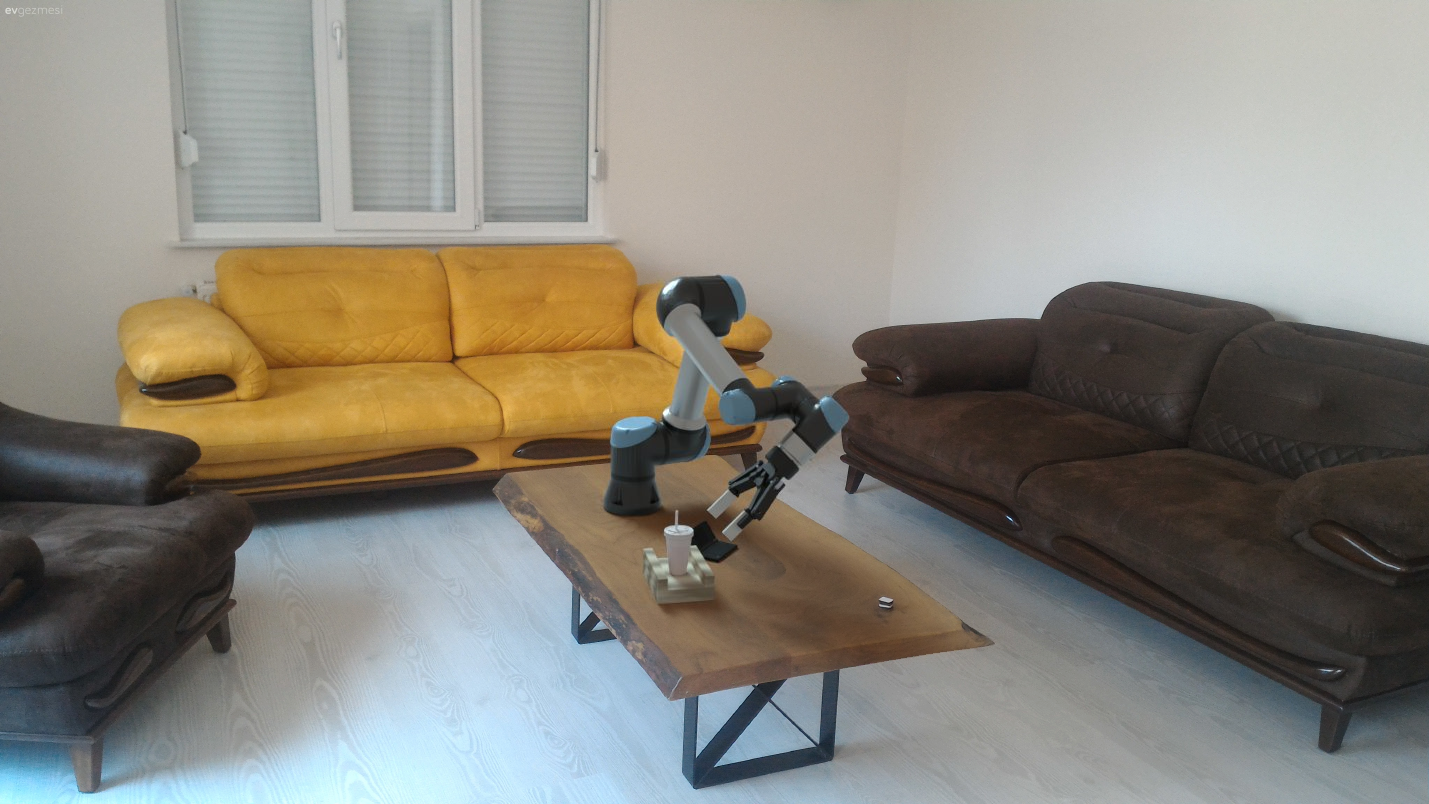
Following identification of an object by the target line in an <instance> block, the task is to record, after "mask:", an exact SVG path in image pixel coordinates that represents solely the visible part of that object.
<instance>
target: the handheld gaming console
mask: <svg viewBox="0 0 1429 804" xmlns="http://www.w3.org/2000/svg"><path fill="white" fill-rule="evenodd" d="M691 528H692V529H693V533H694V535H693V537H692V539H691V546H697V548H698V550H699V551H700V553H701V554H702V556H703V558H704V559H705V561H709V562H712V563H719V562H721V561H722V560H723V559H724V558H726V557H727V556H728V555H730V554H731V553H733V552H734V551H735V550H736V549H738V544H736V543H732V542H727V541H723V540H719V539H718V538H717V536H716V535H715V533H714V531H713V529H712V528H711V526H710V524H709V523H708V521H707V520H706V519H705V520H703V521H701V522H700V523H698V524H696V525H695V526H694V527H691Z"/></svg>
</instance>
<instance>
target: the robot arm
mask: <svg viewBox="0 0 1429 804" xmlns="http://www.w3.org/2000/svg"><path fill="white" fill-rule="evenodd" d="M746 311H747V299H746V293H745V291H744V289H743V287H742V285H741V283H740V281H739V280H738V279H737V278H735V277H734V276H732V275H724V274H723V275H722V274H716V275H700V276H699V275H697V276H696V275H695V276H691V275H690V276H679V277H675V278H673V279H671V280H669V281H668V282H667V283H665V284H664V286H662V288H661V290H660V291H659V293H658V296H657V297H656V302H655V313H656V317H657V319H658V323H659V324H660V326H661V328H662V329H663V330H664V332H665V334H667V335H668V336H669V337H671V338H675V340H677V342H678V343H679V344H680V346H681V347H682V348H683V353H682V357H681V362H680V365H679V370H678V374H677V378H676V383H675V386H674V390H673V394H672V399H671V404H670V405H669V406H667V407H665V408H664V410H663V412H662V416H661V420H658V421H656V419H655V418H653V417H650V416H645V415H643V416H630V417H626V418H623V419H621V420H619V421H617V422H616V423H615V424H614V425H613V426H612V428H611V432H610V433H611V435H610V441H609V444H610V479H609V482H608V485H607V486H606V487H607V488H606V491H605V493H604V496H603V509H605V511H607V512H608V513H611V514H614V515H618V516H625V517H639V516H647V515H651V514H655V513H657V512H659V511H660V510H661V508H662V498H661V493H660V491H659V490H660V489H659V488H658V485H657V481H656V467H660V466H665V465H667V466H668V465H672V464H678V463H689V462H692V461H695V460H700V459H701V458H703V457H704V456H705V455H706V454H707V452H708V451H709V448H710V444H711V441H712V439H711V438H712V437H711V435H710V434H711V428H710V425H709V423H708V422H707V418H706V416H705V415H704V413H703V412H704V409H705V405H706V400H707V397H708V394H709V390H710V386H711V387H712V388H713V390H714V391H715V392H716V394H717V395H718V397H719V401H718V411H719V413H720V418H721V419H722V421H723V422H724V423H725V424H726V425H728V426H747V425H754V424H759V423H764V422H766V423H767V422H772V421H773V422H775V421H780V420H782V421H783V420H790V421H791V422H792V423H793V424H794V426H793V427H792V428H791V429H790V430H789V431H788V432H787V433H786V434H784V436H782V438H780V440H778V445H774V446H773V447H772V448H771V449H770V450H769V451H767V453H766V454H765V455H764V458H765V459H766V460H767V462H764V460H762V459H759V460H758V461H757V462H755V464H754V465H752V466H750V467H749V468H747V469H746V470H745V471H743V472H742V473H740V474H738V475H736V476H735V477H734V478H732V479H731V480H729V481H728V483H727V485H729V486H728V487H727V490H726V491H725V492H724V493H722V495H721V496H720V497H718V499H717V500H715V501H714V502H713V503H712V505H711V506H709V507H708V508H707V511H708V513H709V514H710V515H711V516H713V517H714V519H717V518H718V517H720V515H722V514H723V512H725V510H727V508H729V506H731V505H732V504H733V502H735V500H737V499H739V497H740V496H741V495H742V494H743V493H746V492H747V491H750V490H752V489H753V488H756V491H755V493H754V495H753V497H752V498H751V499H752V500H751V501H750V503H749V504H748V507H746V508H744V509H743V511H741V513H740V514H738V515H737V516H736V518H734V519H733V520H732V521H731V522H730V523H729V524H728V525H727V526H726V527H724V529H723V530H722V534H723V535H724V536H725V537H726V538H727V539H728V540H729V541H730V542H732V541H734V540H735V539H736V538H737V536H738V535H740V533H741V532H742V531H744V529H746V527H747V526H749V524H751V523H752V521H756V520H757V521H758V522H760V521H762V520H763V518H764V517H765V515H766V514H767V512H768V511H769V510H770V508H771V506H772V504H773V503H774V501H775V499H777V497H778V495H779V494H780V492H781V491H782V490H784V489H785V487H786V483H785V482H784V481H783V480H782V479H783V478H785V479H786V480H787V481H791V480H792V478H793V477H794V476H795V475H796V474H797V473H799V471H800V467H804V466H805V465H807V463H808V462H810V461H812V460H813V457H814V456H815V455H816V454H817V453H818V452H819V451H820V450H821V449H822V448H824V446H825V445H826V444H827V443H829V442H830V441H831V440H832V439H833V438H834V437H836V435H838V434H839V433H840V431H841V430H842V429H843V428H844V427H845V425H846V424H847V423H848V422H849V421H850V415H849V413H848V412H847V411H846V409H844V407H842V405H841V404H839V402H837V401H836V399H834V398H833V397H831V395H825V396H823V397H822V398H821V399H819V398H818V397H816V396H815V395H814V394H813V393H812V392H811V390H809V389H808V388H807V387H806V386H805V385H804V384H803V383H802V382H800V381H798V380H797V379H796V378H795V377H793V376H790V375H782V376H780V378H778V379H777V378H776V379H775V380H773V382H772V383H771V384H770V386H763V387H756V386H755V385H754V384H753V382H751V380H750V379H749V378H748V376H747V375H746V374H745V372H744V371H743V370H742V369H741V368H740V366H739V365H738V363H737V362H736V361H735V359H734V357H732V356H731V355H730V354H729V352H728V351H727V350H726V348H725V347H724V346H723V344H722V340H723V338H725V337H727V336H729V334H730V333H731V330H732V325H733V323H738V322H740V321H741V320H742V319H744V317H745V314H746Z"/></svg>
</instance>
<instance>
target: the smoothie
mask: <svg viewBox="0 0 1429 804" xmlns="http://www.w3.org/2000/svg"><path fill="white" fill-rule="evenodd" d="M674 518H675V519H674V525H673V524H672V525H669V526H666V527H665V528H664V530H663V535H664V537H665V542H666V543H665V544H666V553H667V558H668V565H669V573H670V574H672V575H676V576H680V575H684V574H686V571H687V565H688V559H689V552H690V546H691V539H692V537H693V535H694V533H693V529H692V528H693V527H690V526H689V525H684V524H683V525H682V524H679V522H678V521H679V510H676V509H675V516H674Z"/></svg>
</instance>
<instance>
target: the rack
mask: <svg viewBox="0 0 1429 804" xmlns="http://www.w3.org/2000/svg"><path fill="white" fill-rule="evenodd" d="M642 550H643V551H642V552H643V553H642V573H643V575H644V577H645V579H646V582H647V584H648V586H649V589H650V590H651V592H652V595H653V596H654V600H655V601H656V604H657V605H663V604H678V603H688V602H689V603H691V602H704V601H706V602H707V601H714V600H715V576H716V575H715V573H714V572H713V571H712V569H711V567H710V565H709V564H708V562H707V560H705V559H704V558H703V556H702V554H701V553H700V551H699V550H698V548H697V546H690V552H689V559H688V565H687V571H686V574H684V575H680V576H676V575H672V574H670V573H669V565H668V557H660V558H658V556H657V555H656V553H655V550H654V549H653V547H647V548H646V547H645V548H643V549H642Z"/></svg>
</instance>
